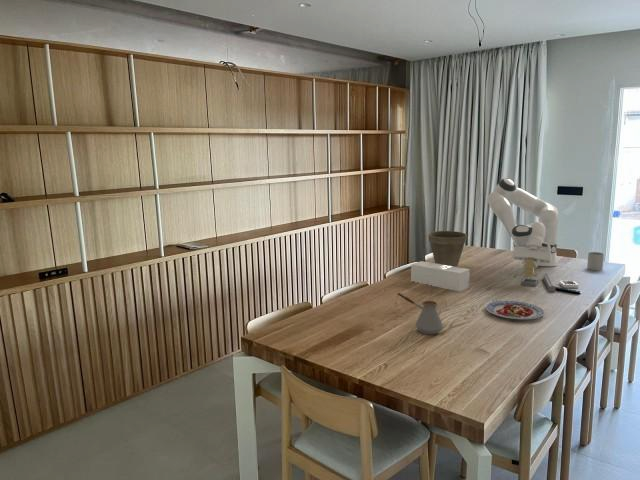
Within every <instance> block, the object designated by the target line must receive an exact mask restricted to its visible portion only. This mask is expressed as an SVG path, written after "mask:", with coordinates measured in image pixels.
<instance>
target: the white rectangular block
mask: <svg viewBox="0 0 640 480" xmlns="http://www.w3.org/2000/svg"><path fill="white" fill-rule="evenodd" d="M470 271H471V269H469V268H464V267H459V266H457V267H453V266H447V265H441V264H436V263H435V262H429V261H424V260H421V261H417V262H413V263H411V265H410V282H412V281H415V282H414V283H417V282H419V283H418V284H422V283H423V284H422V285H426V284H428V285H427V286H431V285H432V287H436V286H437V288H441V289H445V290H451V291H456V292H462V291H464V290H466V289H468V288H469V287H470V275H471V274H470Z"/></svg>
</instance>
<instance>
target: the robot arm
mask: <svg viewBox="0 0 640 480" xmlns="http://www.w3.org/2000/svg"><path fill="white" fill-rule="evenodd" d="M486 199H487V202H488V203H487V204H488V205H489V207H490V209H491V211H492V212H493V214H494V215H495V216H496V217H497V218H498V220H499V221H500V222H501V223H502V225H503V226H504V228H505V229H506V231H507V232H508V234H509V235H510V237H511V238H512V240H513V248H514V250H513V254H512V256H513V257H512V258H513V259H514V260H517V261H522V263H523V265H522V266H523V267H525V268H526V259H527V258H528V257H532V258H535V264H534V269H536V268H538V267H557V266H558V261H557V259H558V257H557V249H558V248H557V247H558V244H557V236H558V223H559V222H558V221H559V210H558V208H557V207H556V206H554V205H552V204H551V203H549V202H546V201H545V200H543V199H540V198H539V197H536V196H535V195H534V194H531V193H529V192H528V191H525V190H523V189H522V188H519V187H517V186H516V184H515V182H514V181H513V180H512V179H509V178H506V177H505V178H502V179H500V181H499V182H498V183H497V185H496V186H495V187H494V189H493V191H492V192H490V193H489V194H488V196H487V197H486ZM511 203H512V204H513V205H514V206H516V207H518V208H519V209H521V210H523V211H524V212H526V213H528V214H531V215H533V216H535V217H537V218H538V221H534V222H532V223H528V224H517V223H516V220H515V215H514V209H513V207H512V205H511Z"/></svg>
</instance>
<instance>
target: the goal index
mask: <svg viewBox="0 0 640 480" xmlns="http://www.w3.org/2000/svg"><path fill="white" fill-rule="evenodd" d="M520 284H521V286H530V287H537V285H538V284H539V279H533V278H525V277H524V278H523V279H522V280H521V283H520Z"/></svg>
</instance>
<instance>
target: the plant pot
mask: <svg viewBox="0 0 640 480" xmlns="http://www.w3.org/2000/svg"><path fill="white" fill-rule="evenodd" d="M467 236H468V235H467V233H465V232H461V231H456V230H436V231H432V232H429V233H428V242H429V243H430V247H431V252H432V257H433V260H434V261H433V262H434V263H436V264H441V265H447V266H453V267H459V263H460V260H461V257H462V253H463V250H464V247H465V244H466V243H467V238H468V237H467Z"/></svg>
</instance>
